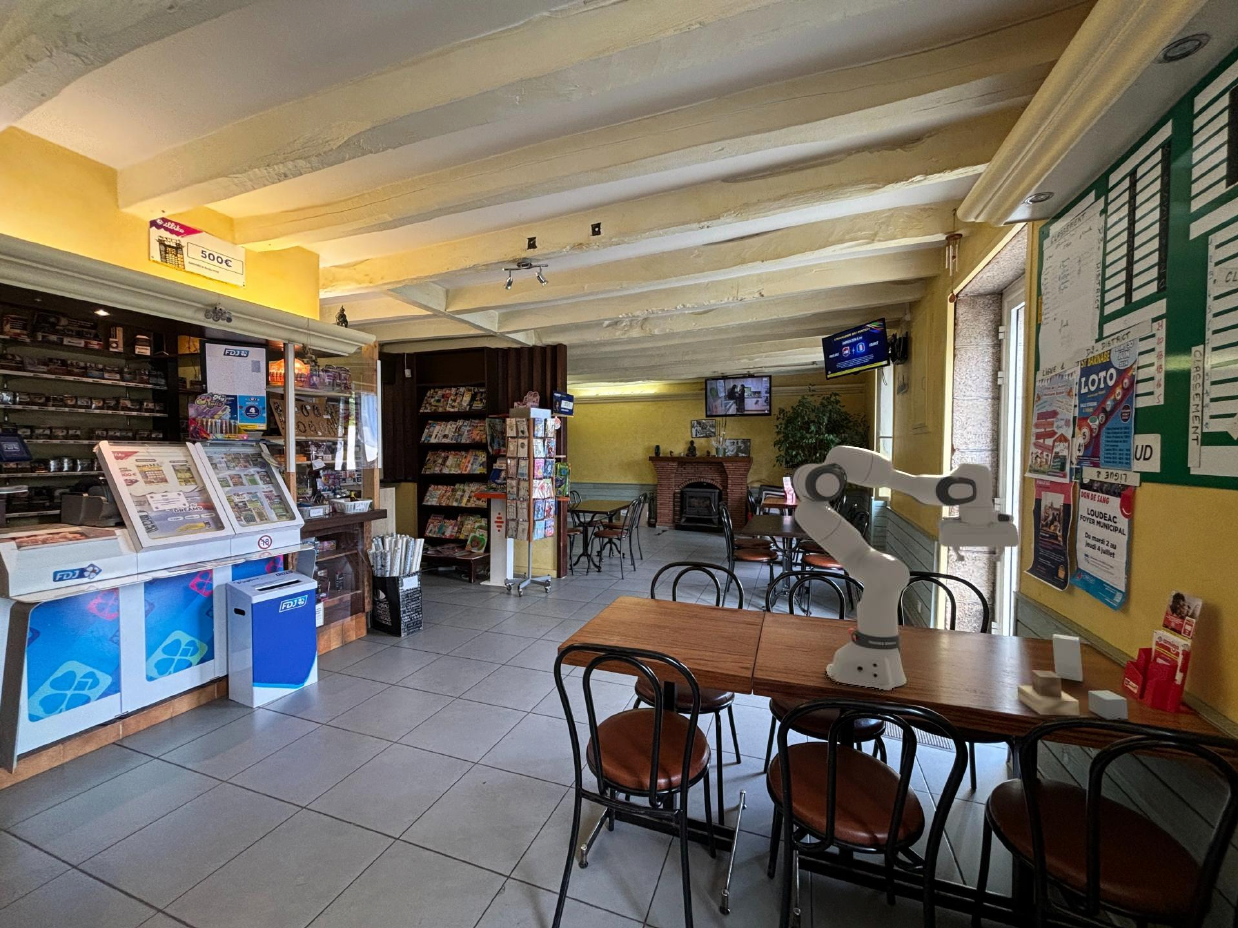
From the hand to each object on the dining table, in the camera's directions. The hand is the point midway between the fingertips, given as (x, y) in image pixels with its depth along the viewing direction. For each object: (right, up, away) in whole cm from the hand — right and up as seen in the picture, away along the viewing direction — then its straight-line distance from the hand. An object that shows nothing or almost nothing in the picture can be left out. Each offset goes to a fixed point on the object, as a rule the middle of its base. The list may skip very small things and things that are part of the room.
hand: (978, 561), depth 155 cm
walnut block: (+4, -31, -20) cm, 37 cm away
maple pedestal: (+4, -35, -20) cm, 41 cm away
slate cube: (+15, -34, -25) cm, 45 cm away
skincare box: (+25, -34, -3) cm, 42 cm away
